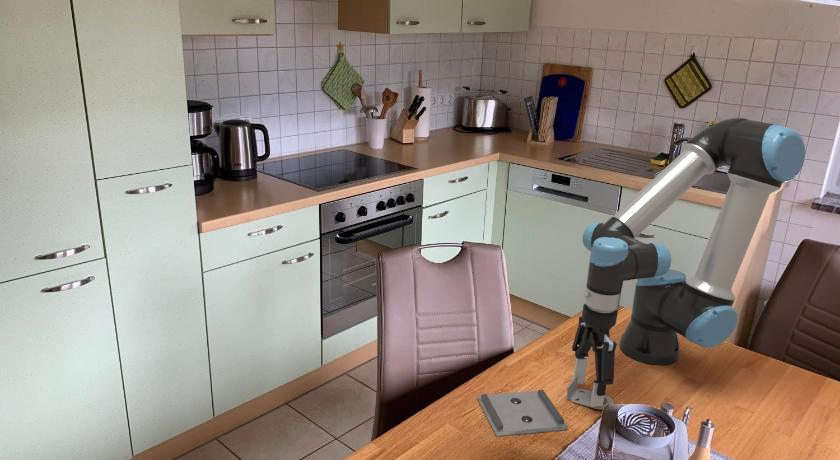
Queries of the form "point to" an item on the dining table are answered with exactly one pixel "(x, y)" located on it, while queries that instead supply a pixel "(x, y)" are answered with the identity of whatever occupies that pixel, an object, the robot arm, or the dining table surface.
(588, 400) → the bracket
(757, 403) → the dining table surface
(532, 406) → the mount plate
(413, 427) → the dining table surface
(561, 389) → the dining table surface
